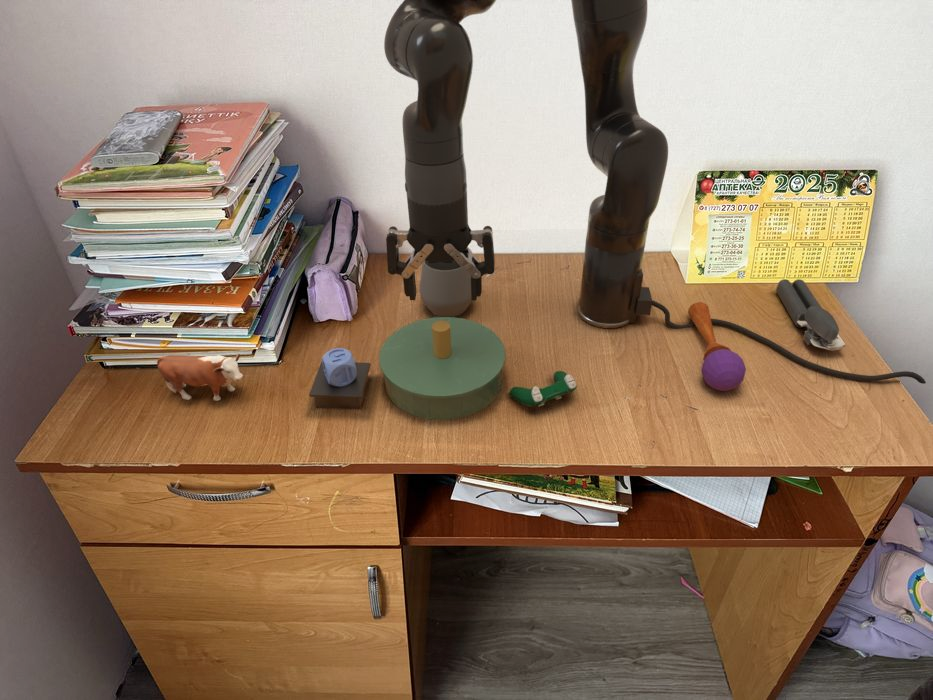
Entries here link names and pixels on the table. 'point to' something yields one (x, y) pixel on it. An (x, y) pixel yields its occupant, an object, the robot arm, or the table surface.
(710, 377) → the purple maraca
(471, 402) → the tin
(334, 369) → the decorative dice
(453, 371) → the tin lid
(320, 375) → the stand
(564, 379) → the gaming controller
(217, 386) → the bull figurine
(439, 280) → the cup
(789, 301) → the can opener
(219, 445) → the table surface
